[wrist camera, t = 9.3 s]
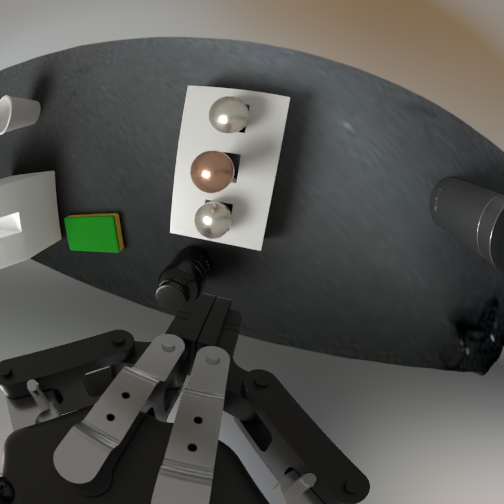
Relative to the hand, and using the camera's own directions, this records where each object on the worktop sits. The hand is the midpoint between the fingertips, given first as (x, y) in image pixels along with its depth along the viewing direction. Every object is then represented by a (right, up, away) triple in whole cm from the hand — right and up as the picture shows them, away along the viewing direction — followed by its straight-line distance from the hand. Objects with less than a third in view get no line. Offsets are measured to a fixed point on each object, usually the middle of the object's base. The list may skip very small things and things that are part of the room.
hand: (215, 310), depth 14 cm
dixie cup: (-47, +34, +25) cm, 63 cm away
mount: (-1, +16, +26) cm, 31 cm away
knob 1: (0, +22, +21) cm, 30 cm away
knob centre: (-2, +14, +20) cm, 25 cm away
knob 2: (-3, +9, +27) cm, 28 cm away
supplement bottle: (-8, +1, +34) cm, 35 cm away
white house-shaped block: (-49, +14, +34) cm, 62 cm away
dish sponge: (-29, +7, +34) cm, 46 cm away
